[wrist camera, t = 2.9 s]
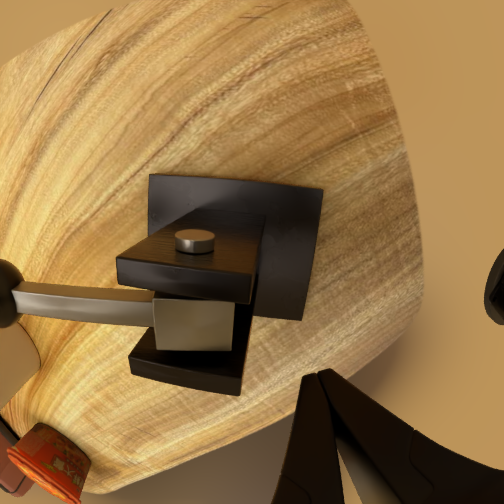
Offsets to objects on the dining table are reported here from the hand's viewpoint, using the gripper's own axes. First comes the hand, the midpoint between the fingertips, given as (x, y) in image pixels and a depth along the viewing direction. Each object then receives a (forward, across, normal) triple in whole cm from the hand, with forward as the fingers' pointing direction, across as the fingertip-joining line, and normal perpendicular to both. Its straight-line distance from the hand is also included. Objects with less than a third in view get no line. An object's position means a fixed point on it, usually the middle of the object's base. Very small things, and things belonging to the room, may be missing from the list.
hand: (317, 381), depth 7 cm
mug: (+17, +33, +4) cm, 37 cm away
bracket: (+13, +2, -1) cm, 13 cm away
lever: (+5, +8, -3) cm, 10 cm away
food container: (+17, +44, +30) cm, 56 cm away
